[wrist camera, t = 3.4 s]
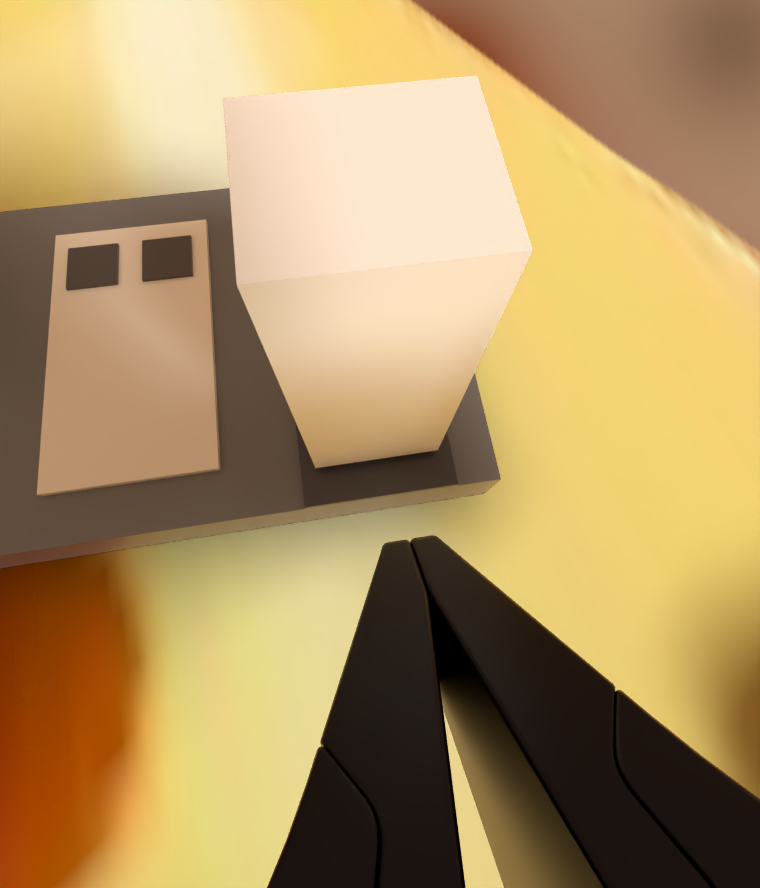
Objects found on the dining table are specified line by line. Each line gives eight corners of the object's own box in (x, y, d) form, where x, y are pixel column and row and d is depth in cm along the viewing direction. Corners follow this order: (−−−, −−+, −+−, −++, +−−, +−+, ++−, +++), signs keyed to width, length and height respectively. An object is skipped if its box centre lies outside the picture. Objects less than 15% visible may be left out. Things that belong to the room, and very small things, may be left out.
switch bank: (484, 493, 15) (504, 476, 13) (-192, 597, 14) (-301, 599, 12) (418, 211, 19) (424, 160, 17) (-122, 270, 17) (-194, 222, 15)
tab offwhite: (437, 450, 13) (532, 250, 5) (315, 468, 13) (237, 284, 5) (418, 357, 14) (476, 75, 6) (304, 372, 14) (223, 97, 6)
